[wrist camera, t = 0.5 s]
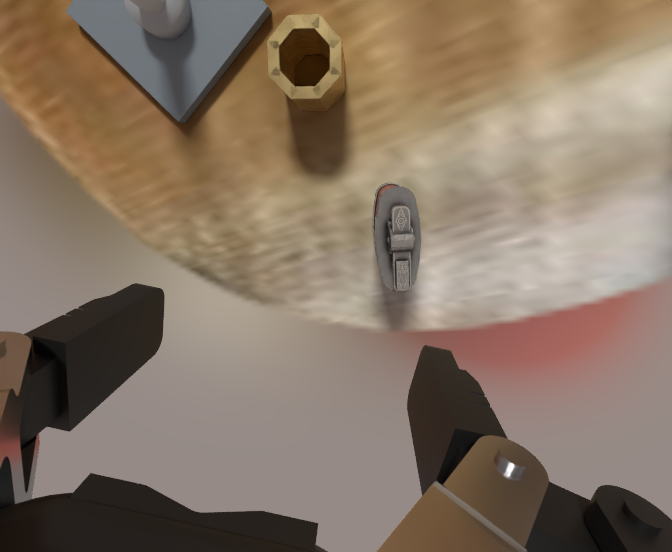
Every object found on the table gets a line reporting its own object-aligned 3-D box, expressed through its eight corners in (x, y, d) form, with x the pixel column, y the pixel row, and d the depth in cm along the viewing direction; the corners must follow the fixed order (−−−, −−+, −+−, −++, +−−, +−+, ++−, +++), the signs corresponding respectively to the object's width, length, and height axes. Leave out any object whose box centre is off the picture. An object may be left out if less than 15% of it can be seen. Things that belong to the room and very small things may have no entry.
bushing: (314, 28, 30) (303, -4, 24) (357, 77, 31) (356, 56, 25) (272, 78, 31) (253, 58, 25) (315, 124, 32) (305, 114, 26)
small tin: (370, 183, 33) (375, 190, 24) (407, 181, 33) (427, 186, 23) (374, 267, 35) (379, 304, 26) (408, 265, 35) (426, 302, 26)
